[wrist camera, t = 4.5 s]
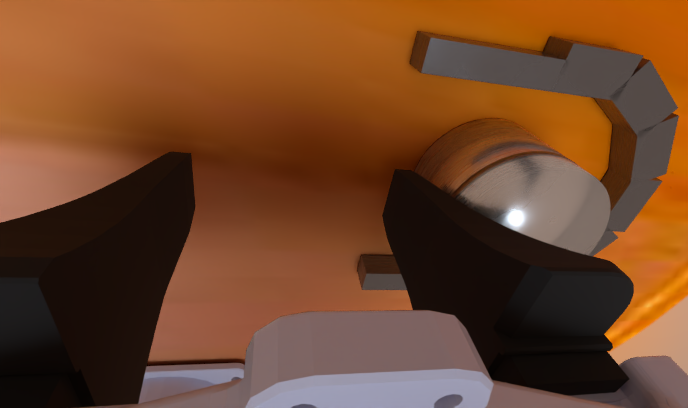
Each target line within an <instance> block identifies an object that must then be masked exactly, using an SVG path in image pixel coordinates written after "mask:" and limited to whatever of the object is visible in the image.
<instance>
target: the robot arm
mask: <svg viewBox="0 0 688 408" xmlns="http://www.w3.org/2000/svg"><path fill="white" fill-rule="evenodd" d="M194 210H195V197H194V184H193V172H192V159H191V153H181V152H169V153H166V154H164V155H163V156H161V157H159V158H157V159H156V160H154V161H152V162H150V163H149V164H147V165H145V166H144V167H142V168H140V169H138V170H137V171H135V172H133V173H131V174H129V175H128V176H126V177H124V178H122V179H120V180H118V181H116V182H114V183H112V184H110V185H108V186H106V187H104V188H102V189H100V190H98V191H95V192H93V193H91V194H88V195H86V196H83V197H81V198H78V199H76V200H73V201H71V202H68V203H65V204H62V205H59V206H56V207H53V208H50V209H47V210H44V211H40V212H37V213H34V214H31V215H28V216H24V217H21V218H17V219H13V220H9V221H5V222H1V223H0V408H688V375H687V374H686V373H685V372H684V371H683V370H682V369H681V368H680V367H679V366H678V365H677V364H676V363H675V362H674V361H673V360H672V359H671V358H670V357H668V356H648V357H635V358H630V359H628V360H626V361H624V362H623V363H621V364H620V365H618V364H617V363H616V362H615V360H614V359H613V358H612V357H611V356H610V354H609V353H608V352H607V351H610V350H611V349H612V348H613V346H612V343H611V342H610V341H609V340H608V339H607V337H606V336H605V335H604V334H605V332H606V331H607V330H608V329H609V328H610V327H611V326H612V325H613V323H614V322H615V321H616V320H617V319H618V318H619V317H620V315H621V314H622V313H623V312H624V311H625V309H626V308H627V307H628V305H629V304H630V302H631V299H632V297H633V293H634V287H633V283H632V281H631V279H630V278H629V277H628V276H627V275H626V274H625V273H624V272H623V271H621V270H620V269H619V268H618V267H617V266H616V265H615V264H613V263H612V262H610V261H608V260H604V259H600V258H597V257H593V256H589V255H585V254H581V253H578V252H574V251H570V250H567V249H564V248H561V247H558V246H555V245H551V244H548V243H545V242H543V241H540V240H537V239H534V238H532V237H529V236H527V235H524V234H522V233H519V232H517V231H515V230H512V229H510V228H508V227H505V226H503V225H501V224H499V223H497V222H495V221H493V220H491V219H489V218H487V217H485V216H483V215H481V214H480V213H478V212H476V211H474V210H473V209H471V208H469V207H468V206H466V205H464V204H463V203H461V202H459V201H458V200H456V199H455V198H453V197H452V196H450V195H449V194H447V193H446V192H444V191H443V190H441V189H440V188H438V187H437V186H435V185H434V184H432V183H431V182H430V181H428V180H427V179H425V178H423V177H422V176H420V175H419V174H417V173H415V172H413V171H411V170H399V169H395V171H394V175H393V178H392V182H391V186H390V189H389V193H388V197H387V200H386V204H385V208H384V212H383V215H382V216H383V221H384V226H385V231H386V235H387V239H388V242H389V244H390V247H391V250H392V252H393V255H394V257H395V260H396V262H397V265H398V267H399V270H400V273H401V275H402V278H403V280H404V283H405V285H406V288H407V291H408V294H409V297H410V301H411V304H412V308H413V310H391V311H307V312H302V313H296V314H291V315H286V316H281V317H279V318H277V319H276V320H274V321H272V322H271V323H269V324H268V325H266V326H264V327H263V328H261V329H260V330H258V331H256V332H255V333H254V335H253V337H252V339H251V341H250V344H249V346H248V348H247V350H246V358H245V365H244V364H242V363H218V364H191V365H164V366H147V362H148V358H149V353H150V349H151V345H152V341H153V337H154V333H155V329H156V325H157V321H158V318H159V314H160V310H161V306H162V303H163V299H164V296H165V293H166V290H167V287H168V284H169V282H170V279H171V277H172V274H173V272H174V269H175V267H176V264H177V262H178V259H179V257H180V254H181V252H182V250H183V247H184V244H185V242H186V239H187V237H188V234H189V232H190V228H191V223H192V219H193V215H194Z"/></svg>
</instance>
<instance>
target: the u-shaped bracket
mask: <svg viewBox="0 0 688 408" xmlns="http://www.w3.org/2000/svg"><path fill="white" fill-rule="evenodd" d="M642 57H643V56H642V55H639V54H635V53H631V52H627V51H623V50H619V49H616V48H610V47H605V46H599V45H594V44H588V43H583V42H577V41H572V40H566V39H561V38H555V37H550V38H549V40H548V42H547V45H546V47H545V49H544V51H543V52H539V51H533V50H527V49H521V48H516V47H510V46H504V45H498V44H492V43H486V42H480V41H474V40H468V39H463V38H457V37H451V36H445V35H439V34H433V33H427V32H421V31H418V32H417V36H416V40H415V44H414V48H413V52H412V56H411V60H410V64H411V65H412V66H413V67H414V68H416V69H417V70H418V71H419V72H421V73H426V74H432V75H439V76H446V77H453V78H460V79H467V80H474V81H481V82H488V83H495V84H502V85H509V86H516V87H523V88H530V89H537V90H544V91H551V92H558V93H565V94H572V95H579V96H586V97H593V98H594V99H595V101H596V102H597V103H598V105H599V106H600V107H601V109H602V110H603V111H604V113H605V114H606V115H607V117H608V118H609V119H610V121H611V122H612V123H613V131H612V141H611V151H610V161H609V170H608V171H607V173H606V174H605V176H604V177H603V179H602V180H601V183H602V184H603V186H604V187H605V188H606V190H607V192H608V195H609V198H610V216H609V221H608V224H607V227H606V229H605V231H604V233H603V235H602V237H601V239H600V240H599V242H598V244H597V245H596V246H595V248H594V249H593V250H592V252H591V253H590V254H589V256H594V255H595V254H596V253H598V252H599V251H601V250H602V249H603V248H605V247H606V246H608V245H609V244H610V243H612V242H613V241H614V240H616V239H617V238H618V237H617V236H616V235H615V234H614V233H613V232H612V231H619V232H625V230H626V229H627V228H628V226H629V225H630V224H631V222H632V221H633V220H634V218H635V217H636V216H637V214H638V213H639V212H640V210H641V209H642V208H643V206H644V205H645V204H646V202H647V201H648V200H649V198H650V197H651V196H652V194H653V193H654V192H655V190H656V189H657V188H658V186H659V185H660V184H661V182H662V181H661V180H659V179H658V178H656V177H658V176H661V175H664V174H666V172H667V167H668V163H669V158H670V154H671V149H672V144H673V140H674V135H675V130H676V126H677V121H678V117H679V116H678V115H676V114H673V113H672V112H674V111H675V110H676V109H677V108H678V107H677V106H676V104H675V102H674V100H673V99H672V97H671V95H670V94H669V92H668V90H667V88H666V87H665V85H664V83H663V82H662V80H661V78H660V76H659V75H658V73H657V71H656V69H655V68H654V66H653V64H652V63H651V61H650V60H647V59H643V58H642ZM357 272H358V276H359V280H360V284H361V288H362V290H407V288H406V285H405V283H404V280H403V278H402V275H401V273H400V270H399V267H398V265H397V262H396V260H395V257H394V256H380V255H361V258H360V262H359V266H358V270H357Z"/></svg>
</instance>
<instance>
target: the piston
mask: <svg viewBox="0 0 688 408" xmlns="http://www.w3.org/2000/svg"><path fill="white" fill-rule="evenodd" d="M414 172H415V173H417V174H419V175H420V176H422V177H423V178H425V179H427V180H428V181H430V182H431V183H432V184H434V185H435V186H437V187H438V188H440V189H441V190H443V191H444V192H446V193H447V194H449V195H450V196H452V197H453V198H455V199H456V200H458V201H459V202H461V203H463V204H464V205H466V206H468V207H469V208H471V209H473V210H474V211H476V212H478V213H480V214H481V215H483V216H485V217H487V218H489V219H491V220H493V221H495V222H497V223H499V224H501V225H503V226H505V227H508V228H510V229H512V230H515V231H517V232H519V233H522V234H524V235H527V236H529V237H532V238H534V239H537V240H540V241H543V242H545V243H548V244H551V245H555V246H558V247H561V248H564V249H567V250H570V251H574V252H578V253H581V254H585V255H589V254H590V253H591V252H592V250H593V249H594V248H595V246H596V245H597V244H598V242H599V240H600V239H601V237H602V235H603V233H604V231H605V229H606V227H607V224H608V221H609V216H610V198H609V195H608V192H607V190H606V188H605V187H604V186H603V184H602V183H601V182H600V181H599V180H598V179H597V178H595V177H594V176H592V175H591V174H589V173H588V172H587V171H585V170H584V169H582V168H581V167H579V166H578V165H577V164H576V163H574V162H573V161H571V160H570V159H568V158H566V157H565V156H563V155H562V154H560V153H559V152H557V151H556V150H555V149H553V148H552V147H550V146H549V145H547V144H546V143H544V142H543V141H541V140H540V139H539V138H537V137H536V136H534V135H533V134H531V133H530V132H528V131H527V130H525V129H524V128H523V127H521V126H519V125H518V124H516V123H514V122H511V121H508V120H504V119H497V118H488V119H480V120H475V121H471V122H468V123H466V124H463V125H461V126H459V127H456V128H454V129H453V130H451V131H449V132H448V133H446V134H445V135H443V136H442V137H441V138H440V139H438V140H437V141H436V142H435V143H434V144H433V145H432V146H431V147H430V148H429V149H428V150H427V151H426V153H425V154H424V155H423V157H422V158H421V160H420V161H419V163H418V165H417V167H416V169H415V171H414Z"/></svg>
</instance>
